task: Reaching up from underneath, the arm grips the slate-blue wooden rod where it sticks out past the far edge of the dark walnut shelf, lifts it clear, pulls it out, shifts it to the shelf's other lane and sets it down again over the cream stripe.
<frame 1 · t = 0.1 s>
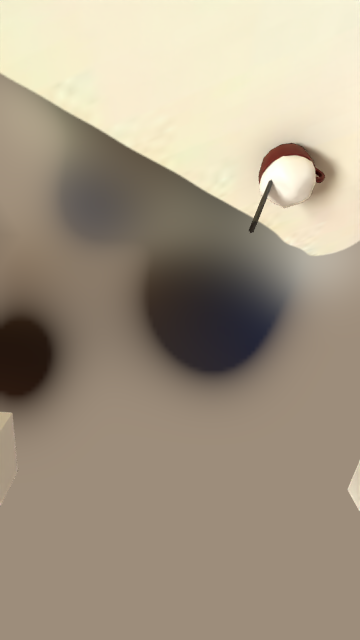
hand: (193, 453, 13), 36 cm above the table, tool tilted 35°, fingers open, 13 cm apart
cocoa: (281, 157, 41), on the table
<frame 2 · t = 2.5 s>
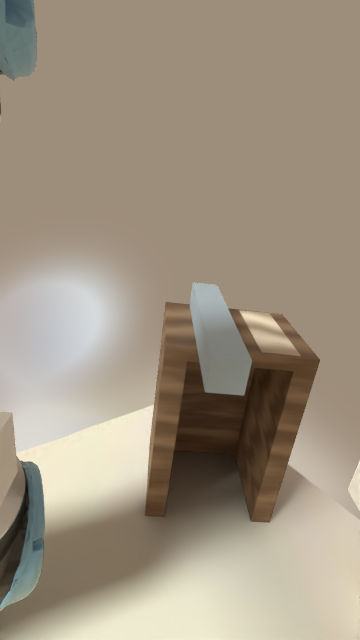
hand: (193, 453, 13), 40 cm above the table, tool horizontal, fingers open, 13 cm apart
rod: (210, 339, 46), point 30 cm above the table, touching shelf
shelf: (203, 478, 62), on the table
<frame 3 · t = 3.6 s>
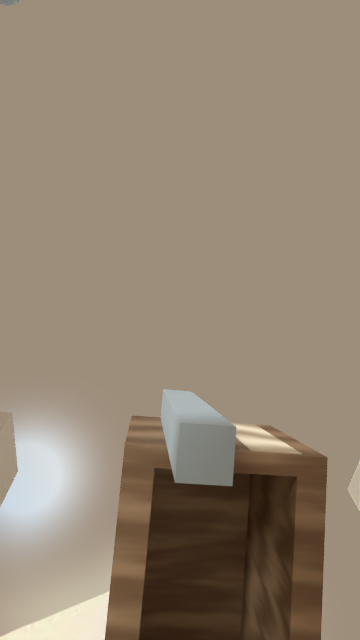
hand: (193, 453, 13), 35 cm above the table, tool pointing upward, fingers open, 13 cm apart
rod: (184, 440, 36), point 30 cm above the table, touching shelf
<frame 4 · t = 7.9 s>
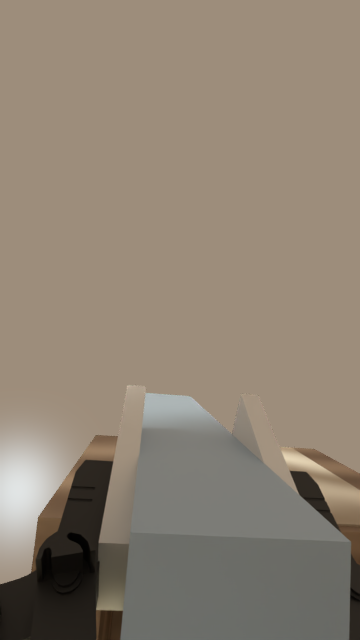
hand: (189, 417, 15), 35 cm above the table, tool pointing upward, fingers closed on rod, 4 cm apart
rod: (174, 496, 18), point 30 cm above the table, touching gripper, shelf
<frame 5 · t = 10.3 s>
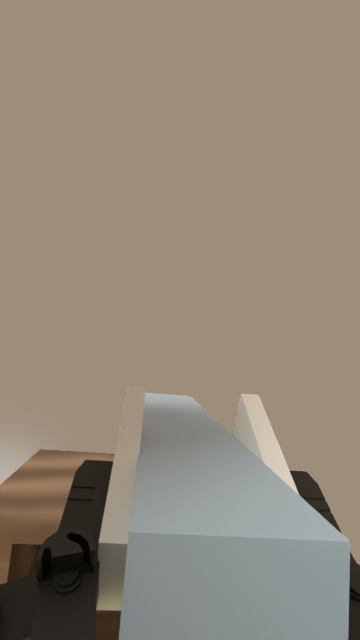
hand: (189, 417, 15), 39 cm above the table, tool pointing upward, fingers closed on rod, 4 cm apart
rod: (173, 496, 18), point 34 cm above the table, touching gripper
when the fingers open (36 cm above the table, at t = 12.7 s): rod stays where it is, resting on shelf.
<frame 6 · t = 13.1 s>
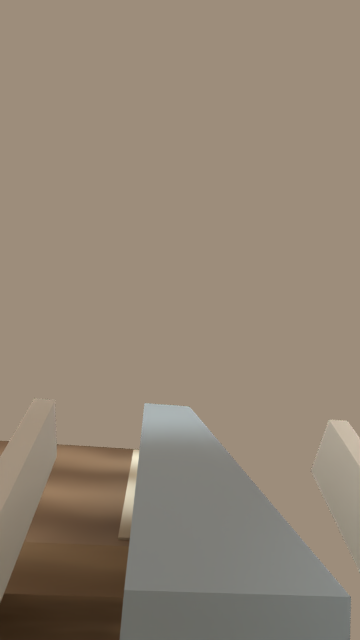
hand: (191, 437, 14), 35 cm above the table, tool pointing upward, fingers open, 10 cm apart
rod: (172, 515, 18), point 30 cm above the table, touching shelf
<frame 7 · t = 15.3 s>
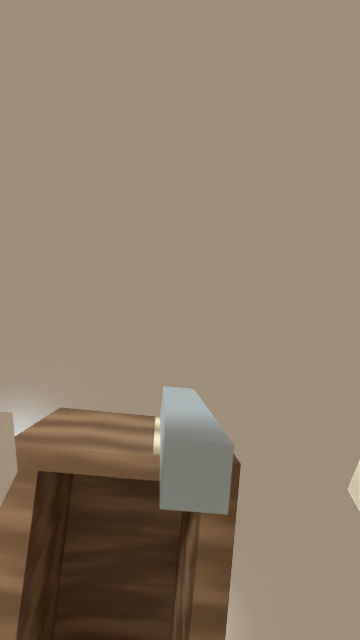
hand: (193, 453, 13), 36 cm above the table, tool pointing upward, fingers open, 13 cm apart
rod: (181, 447, 32), point 30 cm above the table, touching shelf
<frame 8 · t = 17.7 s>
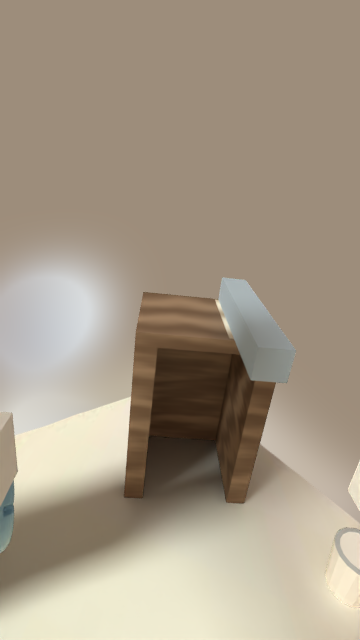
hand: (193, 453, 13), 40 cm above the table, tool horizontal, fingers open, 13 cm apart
shot glass: (345, 585, 48), on the table
rod: (244, 331, 48), point 30 cm above the table, touching shelf
shelf: (182, 462, 64), on the table
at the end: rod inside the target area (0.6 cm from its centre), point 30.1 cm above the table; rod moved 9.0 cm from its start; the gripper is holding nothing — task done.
